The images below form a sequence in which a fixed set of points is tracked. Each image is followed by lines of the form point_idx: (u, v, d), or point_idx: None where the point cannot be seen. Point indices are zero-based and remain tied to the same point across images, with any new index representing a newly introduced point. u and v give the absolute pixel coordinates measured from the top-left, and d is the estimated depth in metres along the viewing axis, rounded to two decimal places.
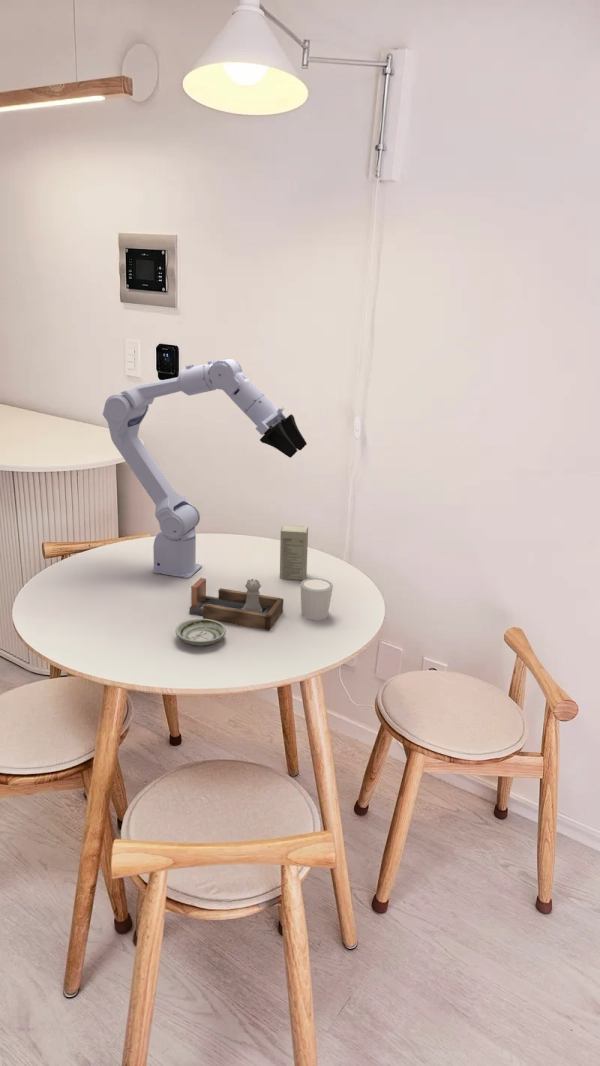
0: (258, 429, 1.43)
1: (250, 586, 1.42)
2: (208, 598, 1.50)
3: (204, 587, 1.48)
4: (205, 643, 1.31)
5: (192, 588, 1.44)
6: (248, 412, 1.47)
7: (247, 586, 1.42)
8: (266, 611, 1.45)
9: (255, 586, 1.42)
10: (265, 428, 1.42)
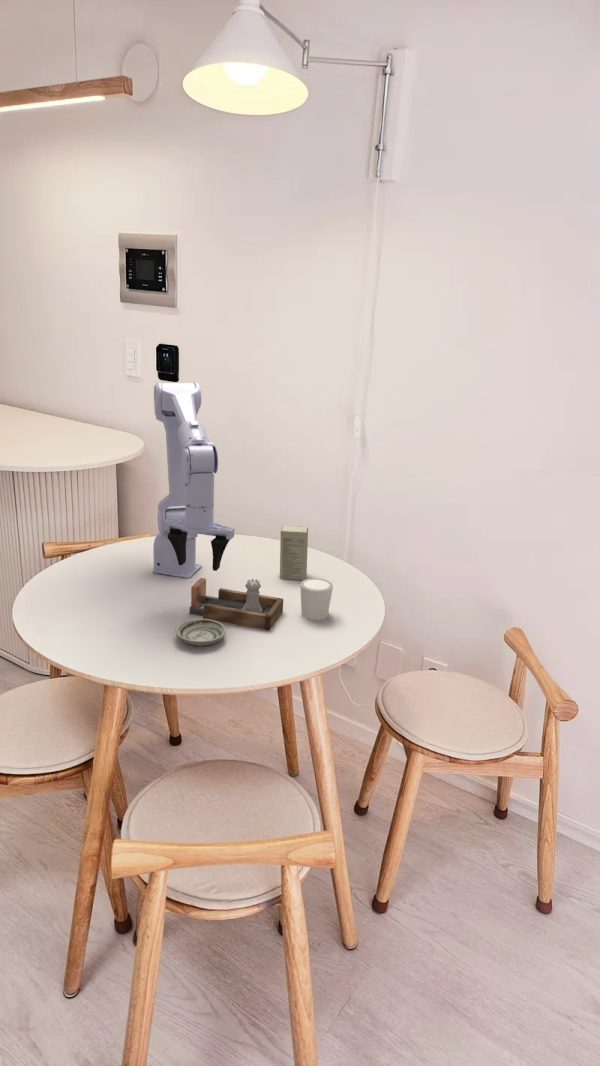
0: None
1: (250, 586, 1.42)
2: (208, 598, 1.50)
3: (204, 587, 1.48)
4: (205, 643, 1.31)
5: (192, 588, 1.44)
6: None
7: (247, 586, 1.42)
8: (266, 611, 1.45)
9: (255, 586, 1.42)
10: None
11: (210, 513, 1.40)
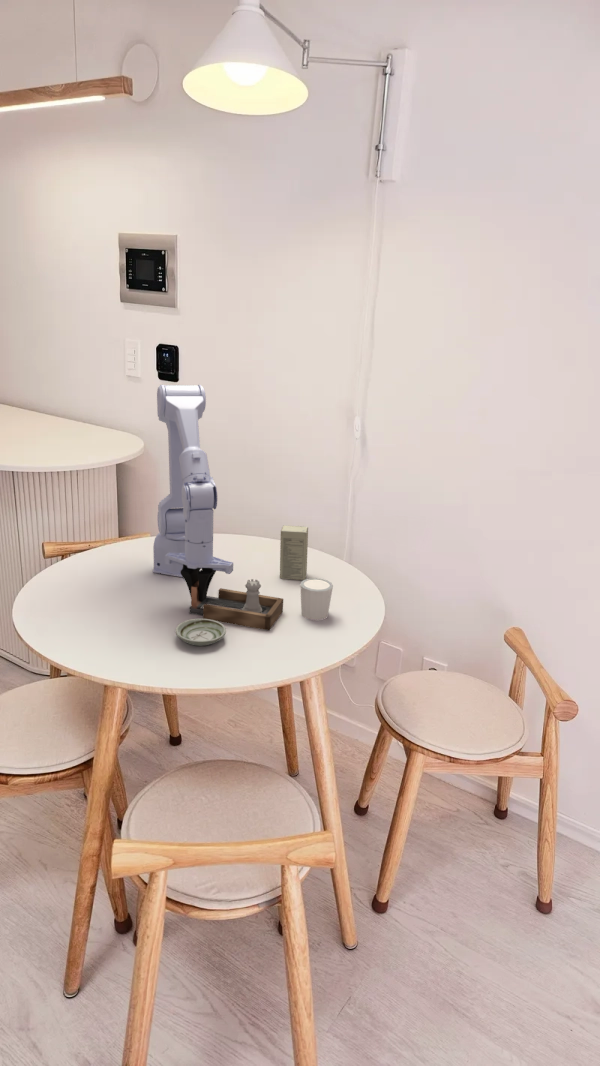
0: None
1: (250, 586, 1.42)
2: (208, 598, 1.50)
3: None
4: (205, 643, 1.31)
5: (192, 588, 1.44)
6: None
7: (247, 586, 1.42)
8: (266, 611, 1.45)
9: (255, 586, 1.42)
10: None
11: (210, 548, 1.42)
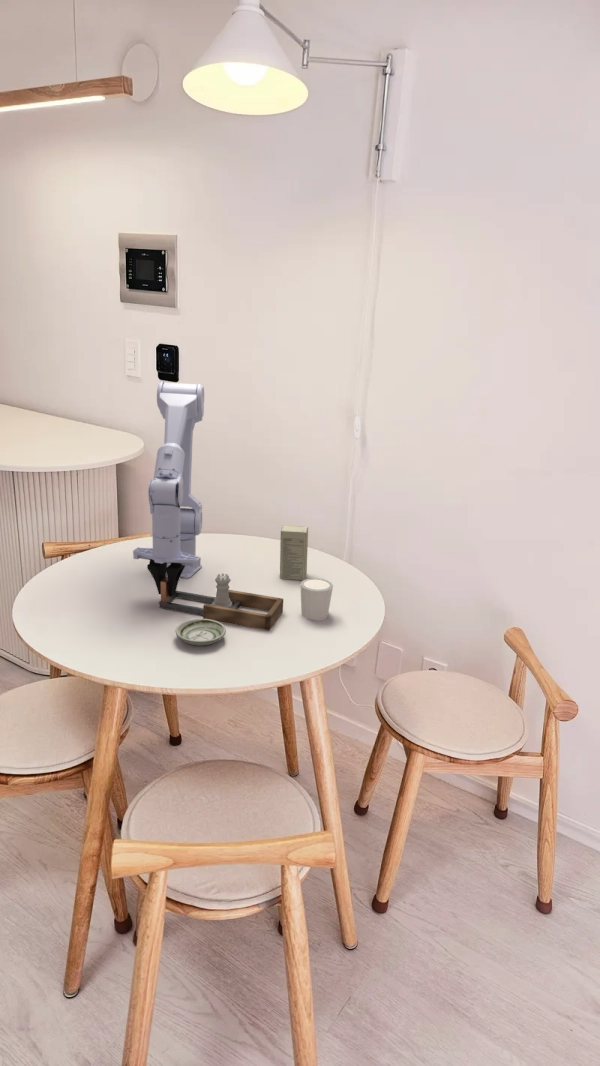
0: None
1: (219, 580, 1.44)
2: (178, 593, 1.52)
3: None
4: (205, 643, 1.31)
5: (161, 583, 1.46)
6: None
7: (216, 580, 1.44)
8: (235, 606, 1.47)
9: (224, 580, 1.44)
10: None
11: (177, 543, 1.44)
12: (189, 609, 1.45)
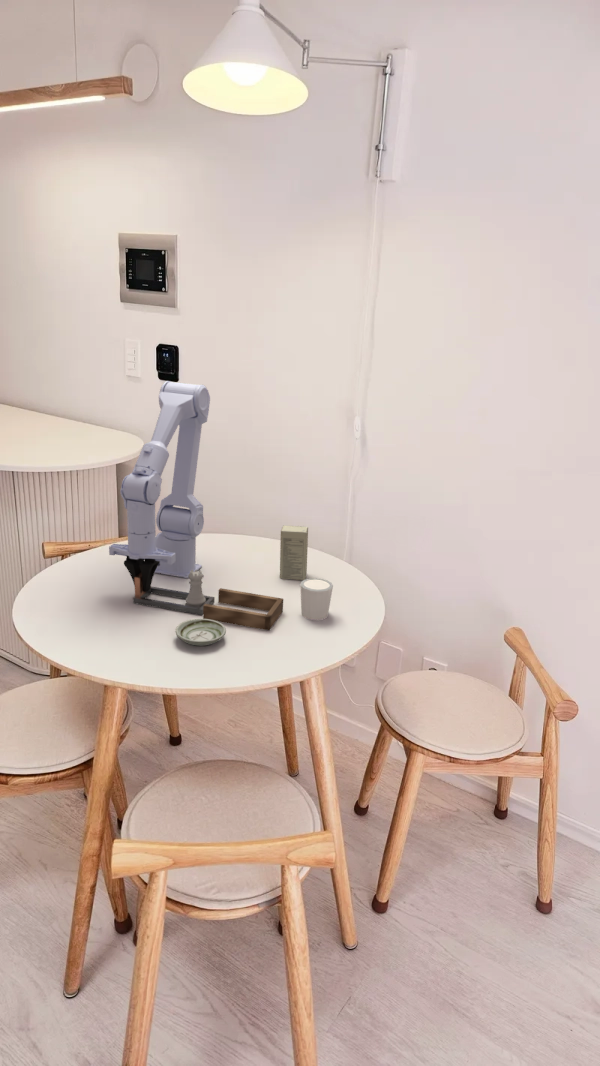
0: None
1: (192, 576, 1.45)
2: (153, 589, 1.53)
3: None
4: (205, 643, 1.31)
5: (135, 578, 1.47)
6: None
7: (189, 576, 1.46)
8: (208, 601, 1.48)
9: (197, 576, 1.45)
10: None
11: (152, 539, 1.45)
12: (163, 604, 1.47)
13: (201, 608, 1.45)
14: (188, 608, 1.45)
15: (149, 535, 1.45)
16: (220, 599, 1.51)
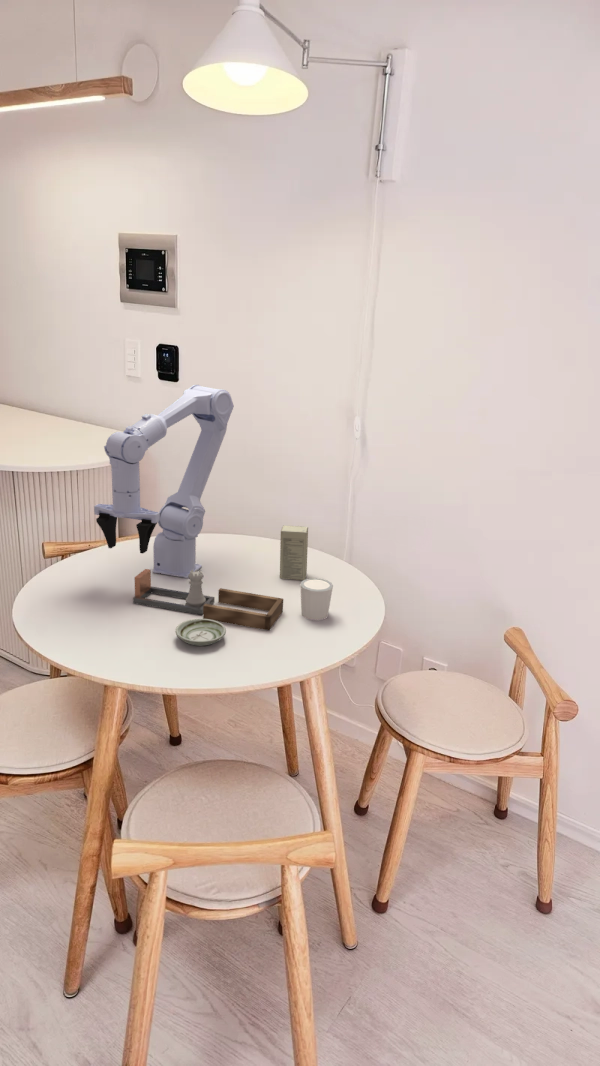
0: None
1: (192, 576, 1.45)
2: (153, 589, 1.53)
3: (148, 578, 1.51)
4: (205, 643, 1.31)
5: (135, 578, 1.47)
6: None
7: (189, 576, 1.46)
8: (208, 601, 1.48)
9: (197, 576, 1.45)
10: None
11: (136, 498, 1.47)
12: (163, 604, 1.47)
13: (201, 608, 1.45)
14: (188, 608, 1.45)
15: (133, 494, 1.46)
16: (220, 599, 1.51)
